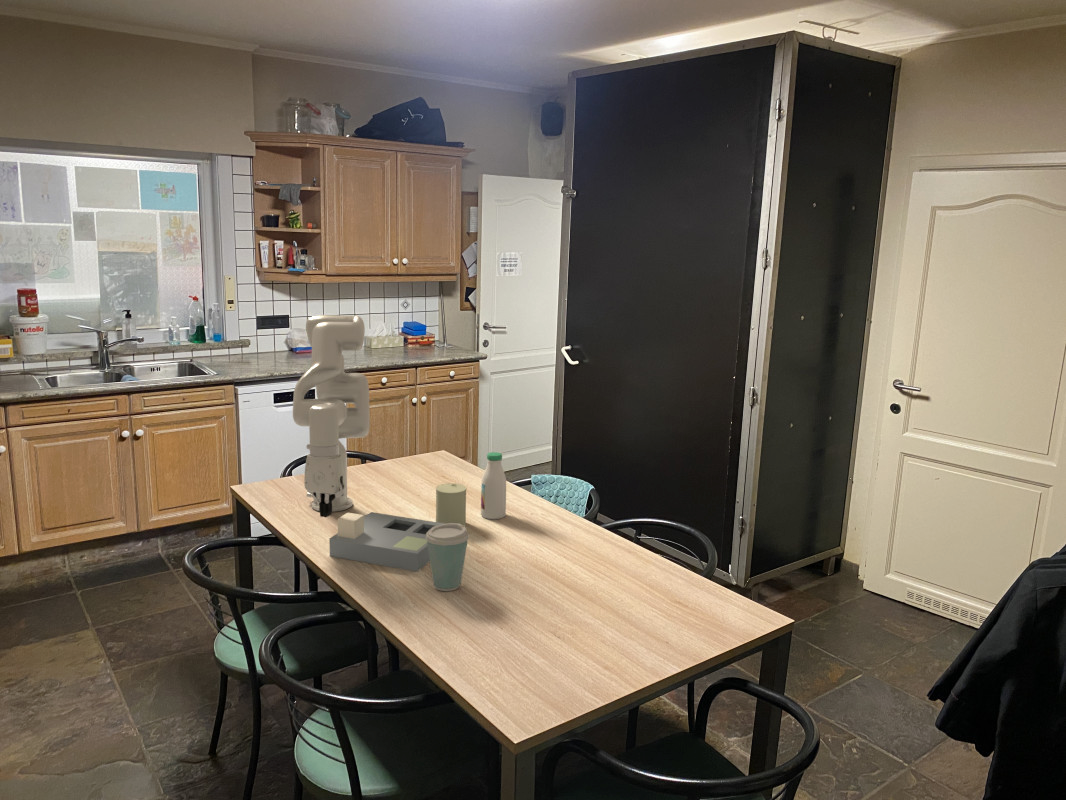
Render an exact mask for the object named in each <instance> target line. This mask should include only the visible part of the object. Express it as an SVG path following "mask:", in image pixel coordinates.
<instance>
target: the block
mask: <svg viewBox="0 0 1066 800" xmlns="http://www.w3.org/2000/svg"><path fill="white" fill-rule="evenodd" d="M364 516H365V515H364V514H360V513H352V512H346V513H344V514H343V515H341V516H340V517H338V518H337V533H338V536H340V537H346V538H352V539H355V538H357V537H358V536H360V535H361V534H363V533H364Z"/></svg>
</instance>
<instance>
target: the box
mask: <svg viewBox="0 0 1066 800" xmlns="http://www.w3.org/2000/svg"><path fill="white" fill-rule="evenodd" d="M440 524H444V523H438V522H436V521H430V520H424V519H418V518H417V519H416V518H413V517H412V518H411V517H406V516H405V517H404V516H398V515H393V514H385V513H381V512H372V511H371V512H369V513H367V514H366V515H364V533H363V534H361V535H360V536H358V537H357V538H355V539H352V538H346V537H340V536H338V532H337V533H336V534H334V535H333V536H330V538H329V539H328V541H329V557H333V558H338V559H344V560H350V561H355V562H360V563H368V564H372V565H376V566H377V565H378V566H383V567H389V568H393V569H399V570H406V571H411V572H420V571H421V570H422V569H423V567H425V566H426V565H427V564H429V563H430V557H429V551H428V544H427V541H426V533H427V532H428V531H429V530H430V529H431V528H432V527H435V526H437V525H440Z"/></svg>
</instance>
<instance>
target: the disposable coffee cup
mask: <svg viewBox="0 0 1066 800" xmlns="http://www.w3.org/2000/svg"><path fill="white" fill-rule="evenodd" d="M469 539H470V536H469V532H468V531H467V528H466V526H464V525H461V524H459V523H447V524H440V525H437V526H435V527H432V528H431V529H430V530H429V531H428V532H427V533H426V541H427V544H428V551H429V557H430V561H429V563H430V569H431V576H432V577H431V578H432V583H433V586H434V588H435V589H436V590H437V591H441V592H451V591H452V592H453V591H455V590H458V589H459V588H460V585H461V584H462V580H463V578H462V577H463V572H464V571H463V570H464V565H465V561H466V559H465V558H466V553H467V545H468V540H469Z"/></svg>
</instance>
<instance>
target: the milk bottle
mask: <svg viewBox="0 0 1066 800" xmlns="http://www.w3.org/2000/svg"><path fill="white" fill-rule="evenodd" d="M486 461H487V464H486V467H485V470H484V471H483V474H482V477H481V486H480V487H481V488H480V489H481V491H480V493H481V495H480V515H481V517H482V518H484V519H487V520H500V519H503V518H504V517H506V512H507V511H506V510H507V477H506V473H505V471H504V469H503V465H502V461H503V454H502V453H501V452H497V451H496V452H494V451H493V452H488V453H487V454H486Z"/></svg>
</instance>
